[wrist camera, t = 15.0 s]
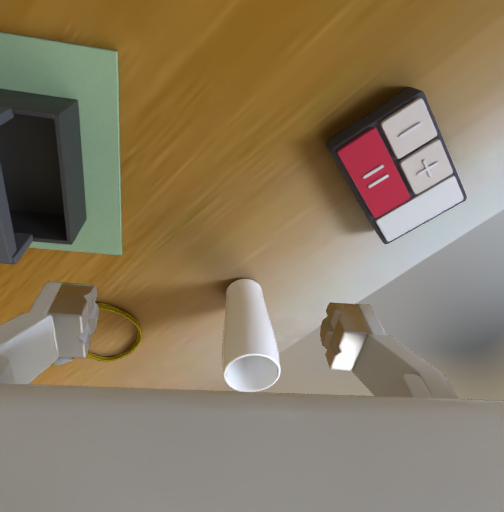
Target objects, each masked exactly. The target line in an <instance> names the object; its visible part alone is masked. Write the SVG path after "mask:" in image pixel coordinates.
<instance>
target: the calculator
mask: <svg viewBox="0 0 504 512" xmlns="http://www.w3.org/2000/svg"><path fill="white" fill-rule="evenodd" d="M326 146H327V148H328V150H329V152H330V153H331V155H332V157H333V159H334V160H335V162H336V164H337V166H338V167H339V169H340V171H341V172H342V174H343V176H344V178H345V179H346V181H347V183H348V185H349V186H350V188H351V190H352V191H353V193H354V195H355V197H356V198H357V200H358V202H359V203H360V205H361V207H362V209H363V210H364V212H365V214H366V216H367V218H368V219H369V221H370V223H371V225H372V226H373V228H374V230H375V231H376V233H377V234H378V236H379V237H380V239H381V240H382V241H383V243H384V244H388V243H390V242H392V241H394V240H395V239H397V238H399V237H401V236H402V235H404V234H406V233H408V232H410V231H411V230H413V229H415V228H417V227H419V226H420V225H422V224H424V223H426V222H428V221H429V220H431V219H433V218H435V217H436V216H438V215H440V214H442V213H444V212H445V211H447V210H449V209H451V208H453V207H454V206H456V205H458V204H460V203H461V202H463V201H465V200H466V198H467V197H466V194H465V191H464V189H463V186H462V184H461V182H460V179H459V177H458V174H457V172H456V169H455V167H454V165H453V162H452V160H451V157H450V155H449V152H448V150H447V148H446V145H445V143H444V140H443V138H442V135H441V133H440V131H439V128H438V126H437V123H436V121H435V118H434V116H433V114H432V111H431V109H430V106H429V104H428V101H427V99H426V97H425V94H424V92H423V91H420V90H418V89H415V88H412V87H409V88H407V89H406V90H404V91H403V92H401V93H400V94H398V95H397V96H395V97H393V98H392V99H390V100H389V101H387V102H386V103H384V104H383V105H381V106H380V107H378V108H377V109H375V110H374V111H372V112H371V113H369V114H368V115H366V116H365V117H363V118H362V119H360V120H359V121H357V122H356V123H354V124H353V125H351V126H350V127H348V128H346V129H345V130H343V131H342V132H340V133H339V134H337V135H336V136H334V137H333V138H331V139H330V140H328V141H327V142H326Z"/></svg>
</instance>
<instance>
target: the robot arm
mask: <svg viewBox="0 0 504 512" xmlns="http://www.w3.org/2000/svg"><path fill="white" fill-rule="evenodd" d="M97 295H98V294H97V287H96V286H95V285H85V284H74V283H62V282H50V281H48V282H47V283H46V284H45V285H44V286H43V288H42V290H41V292H40V293H39V295H38V297H37V298H36V300H35V302H34V303H33V305H32V307H31V309H30V310H29V312H28V313H22V314H21V315H19V316H17V317H15V318H13V319H11V320H10V321H8V322H6V323H4V324H2V325H0V512H504V401H502V400H473V399H459V398H458V396H457V395H456V393H455V392H454V390H453V388H452V387H451V385H450V383H449V382H448V380H447V378H446V377H445V375H444V374H442V373H441V372H440V371H438V370H437V369H436V368H434V367H433V366H432V365H430V364H429V363H427V362H426V361H425V360H423V359H422V358H421V357H419V356H418V355H417V354H415V353H414V352H412V351H411V350H410V349H408V348H407V347H406V346H404V345H403V344H402V343H400V342H398V341H397V340H396V339H394V338H393V337H392V336H391V335H386V333H385V331H384V329H383V327H382V325H381V324H380V321H379V320H378V318H377V316H376V314H375V312H374V310H373V308H372V307H371V306H370V305H369V304H345V303H329V305H328V307H327V309H326V312H327V315H328V316H327V317H326V318H325V319H324V320H323V321H322V325H321V331H320V336H321V342H322V345H323V346H324V347H325V348H326V349H327V352H326V354H325V355H326V358H327V361H328V364H329V368H330V369H337V370H351V371H353V373H354V374H355V375H356V376H357V377H358V378H359V379H360V381H361V382H362V383H363V384H364V385H365V386H366V387H367V388H368V389H369V390H370V391H371V392H372V393H373V394H374V396H354V395H323V394H295V393H268V392H238V391H237V392H236V391H207V390H177V389H148V388H119V387H90V386H61V385H32V384H29V383H30V382H31V381H33V380H34V379H35V378H36V377H37V376H39V375H40V374H41V373H42V372H43V371H44V370H46V369H47V368H48V367H49V366H50V365H51V364H53V363H54V362H55V361H56V360H57V359H58V358H86V356H87V353H88V350H89V347H90V345H91V335H92V334H94V333H95V330H96V327H97V322H98V313H99V309H98V305H97V304H96V303H95V301H96V298H97Z"/></svg>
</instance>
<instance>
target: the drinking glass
mask: <svg viewBox="0 0 504 512" xmlns="http://www.w3.org/2000/svg"><path fill="white" fill-rule="evenodd" d="M222 368H223V377H224V380H225V382H226V383H227V384H228V385H229V386H230V387H232V388H233V389H235V390H238V391H242V392H257V391H261V390H264V389H266V388H268V387H270V386H272V385H273V384H274V383H275V382H276V381H277V380H278V378H279V376H280V372H281V369H280V360H279V353H278V347H277V343H276V339H275V335H274V332H273V328H272V325H271V322H270V318H269V315H268V312H267V308H266V305H265V301H264V297H263V291H262V288H261V286H260V285H259V284H258V283H257V282H255V281H253V280H250V279H239V280H236V281H234V282H233V283H232V284H230V285H229V287H228V288H227V291H226V307H225V319H224V330H223V340H222Z"/></svg>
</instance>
